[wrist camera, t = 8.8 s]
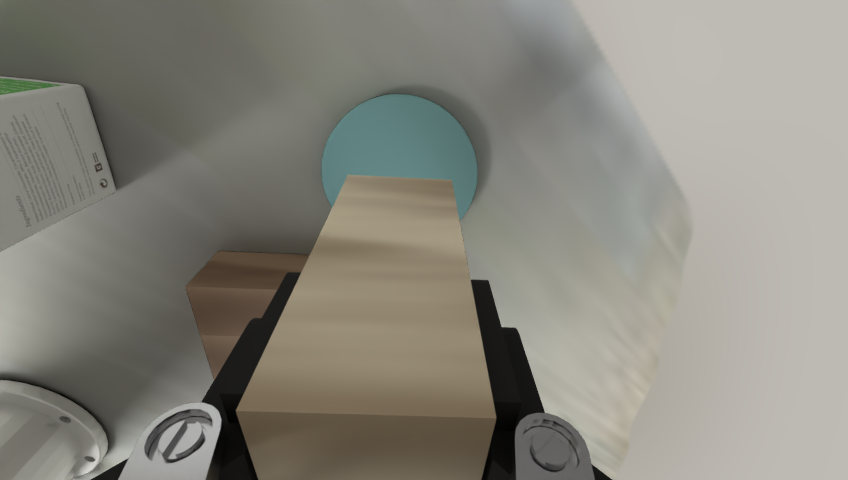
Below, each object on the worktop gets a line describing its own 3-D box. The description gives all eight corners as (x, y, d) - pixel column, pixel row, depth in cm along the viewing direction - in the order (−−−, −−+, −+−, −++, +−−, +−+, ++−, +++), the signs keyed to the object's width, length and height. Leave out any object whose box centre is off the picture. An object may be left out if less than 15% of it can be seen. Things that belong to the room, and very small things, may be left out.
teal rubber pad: (466, 241, 25) (468, 249, 24) (330, 236, 24) (326, 243, 23) (484, 98, 20) (487, 101, 20) (319, 88, 20) (314, 91, 19)
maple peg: (443, 265, 16) (467, 535, 8) (352, 261, 16) (275, 532, 8) (451, 180, 14) (496, 418, 6) (347, 174, 14) (235, 411, 6)
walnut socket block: (371, 380, 31) (365, 424, 27) (248, 377, 31) (226, 421, 27) (368, 256, 25) (360, 292, 22) (218, 251, 25) (185, 286, 21)
